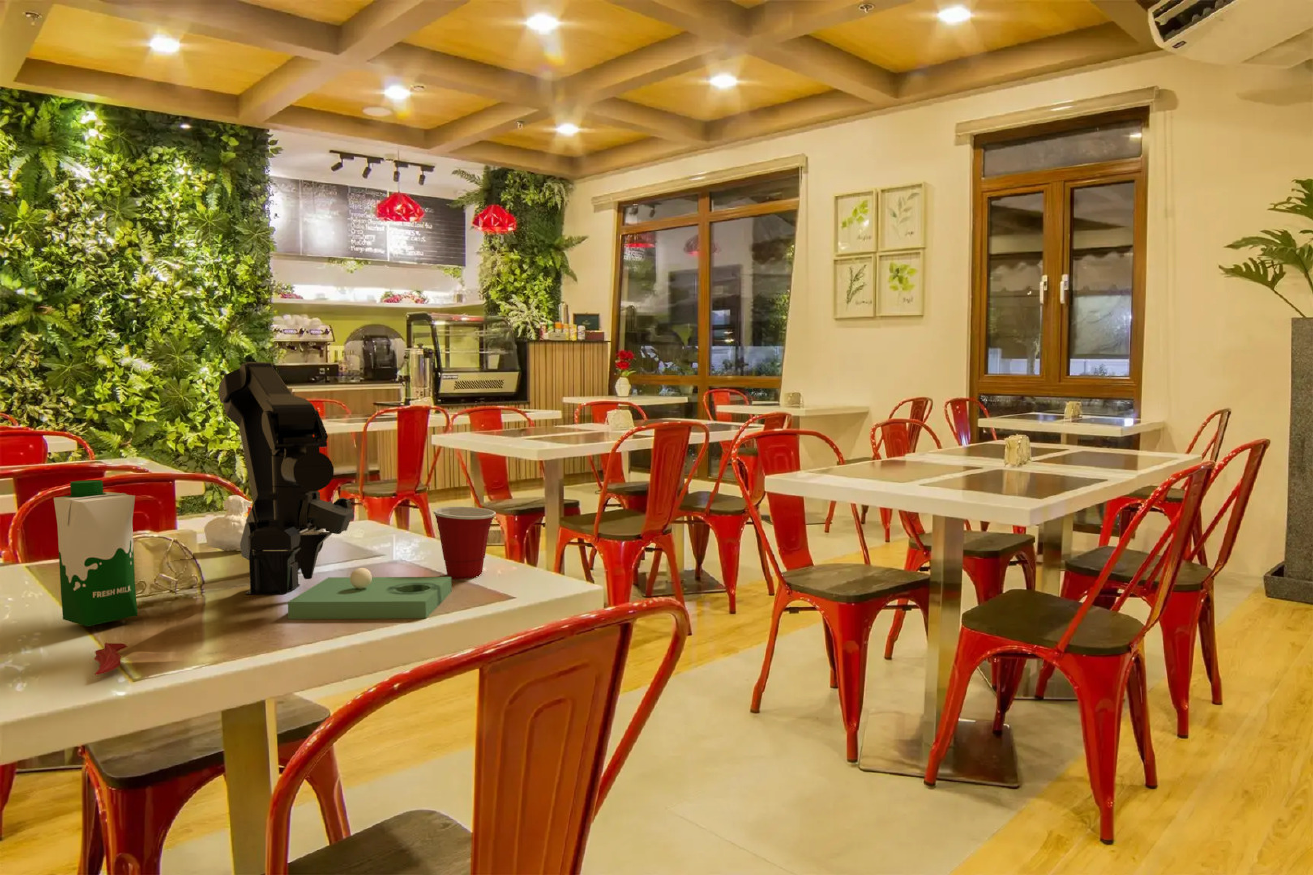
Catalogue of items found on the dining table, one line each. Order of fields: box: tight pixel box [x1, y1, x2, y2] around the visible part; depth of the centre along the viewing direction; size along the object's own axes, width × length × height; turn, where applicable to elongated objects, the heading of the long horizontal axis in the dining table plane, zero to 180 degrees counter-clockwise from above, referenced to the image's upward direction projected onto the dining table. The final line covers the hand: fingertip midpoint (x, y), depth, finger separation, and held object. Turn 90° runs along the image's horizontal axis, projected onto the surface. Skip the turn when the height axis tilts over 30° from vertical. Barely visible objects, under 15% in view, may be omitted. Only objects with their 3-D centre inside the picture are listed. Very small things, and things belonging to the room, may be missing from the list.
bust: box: [203, 494, 253, 552], centre depth 181 cm, size 12×8×11 cm, turn 91°
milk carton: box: [53, 479, 138, 628], centre depth 130 cm, size 9×9×20 cm
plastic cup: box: [432, 506, 497, 580], centre depth 156 cm, size 11×11×12 cm
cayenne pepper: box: [94, 642, 128, 676], centre depth 112 cm, size 12×5×2 cm, turn 10°
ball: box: [349, 567, 373, 589], centre depth 137 cm, size 3×3×3 cm
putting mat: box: [287, 576, 452, 620], centre depth 137 cm, size 20×16×2 cm
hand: (296, 585), depth 137 cm, fingers open, 9 cm apart
